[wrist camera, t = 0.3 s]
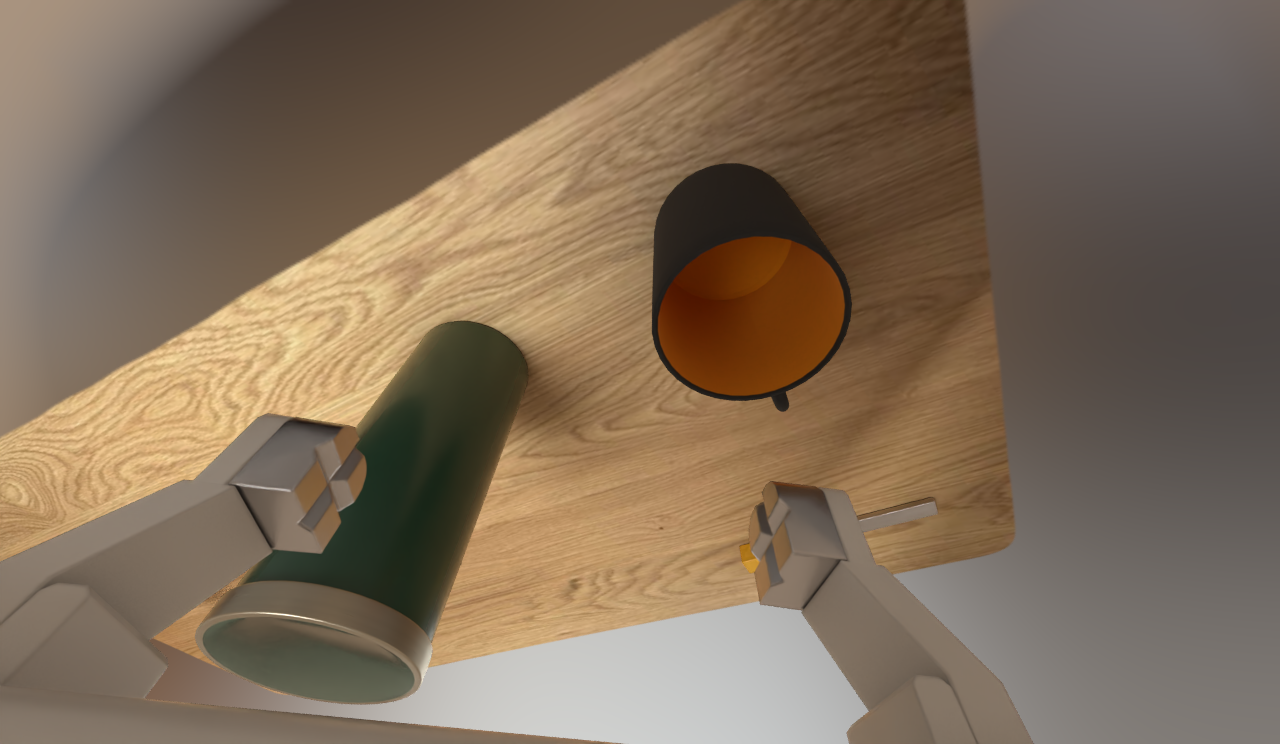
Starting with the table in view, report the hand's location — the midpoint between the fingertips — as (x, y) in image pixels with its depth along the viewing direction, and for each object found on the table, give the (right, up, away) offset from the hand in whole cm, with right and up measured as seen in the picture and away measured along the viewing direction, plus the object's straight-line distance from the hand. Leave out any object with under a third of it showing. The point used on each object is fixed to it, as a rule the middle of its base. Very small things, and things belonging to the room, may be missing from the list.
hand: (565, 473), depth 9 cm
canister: (-11, +2, +25) cm, 27 cm away
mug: (+7, +9, +20) cm, 23 cm away
